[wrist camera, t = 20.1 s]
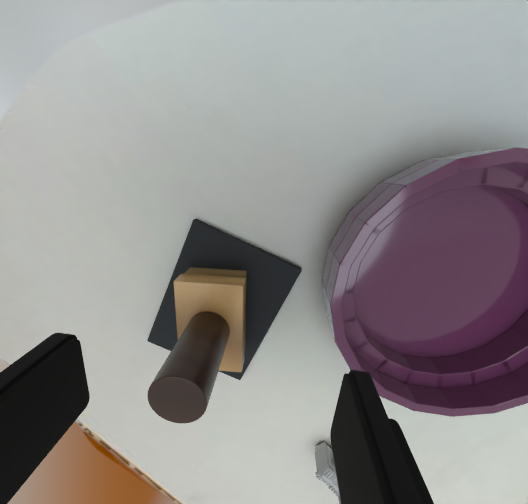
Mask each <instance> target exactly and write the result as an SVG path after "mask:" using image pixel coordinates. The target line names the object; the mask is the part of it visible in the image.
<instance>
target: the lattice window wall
mask: <svg viewBox="0 0 528 504" xmlns="http://www.w3.org/2000/svg"><path fill="white" fill-rule="evenodd" d="M315 450H316V452H315V457H316V466H317V472H316V476H317V478H319V480H321V481H322V482H323V481H324V483H326V485H329V489H331V491H334V493H336V495H337V496H338V498H339V504H341V500H340V494H339V488H338V482H337V476H336V470H335V464H334V458H333V452H332V449H331V448H330V447H329V446H328V445H327V444H326V443H325V442H323V443H321V444H319V445H317V446H315Z"/></svg>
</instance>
